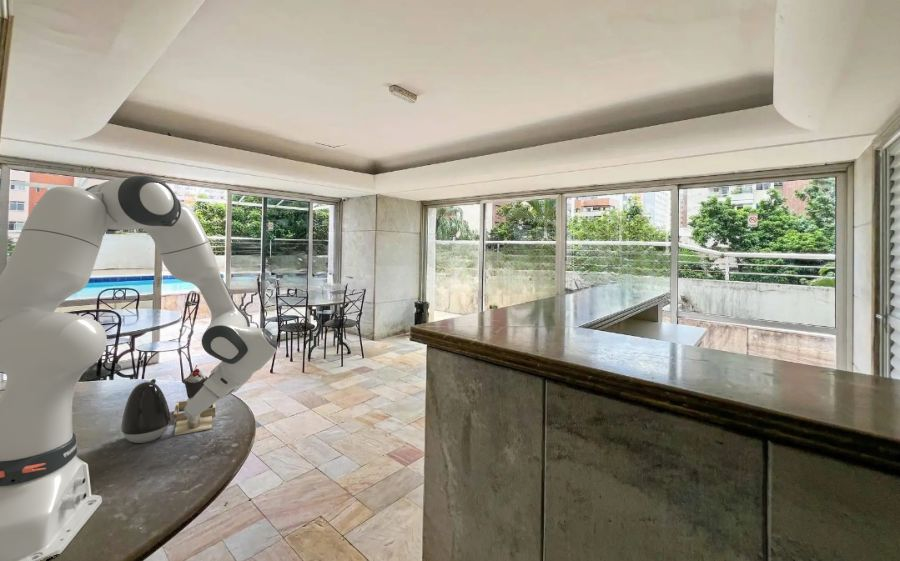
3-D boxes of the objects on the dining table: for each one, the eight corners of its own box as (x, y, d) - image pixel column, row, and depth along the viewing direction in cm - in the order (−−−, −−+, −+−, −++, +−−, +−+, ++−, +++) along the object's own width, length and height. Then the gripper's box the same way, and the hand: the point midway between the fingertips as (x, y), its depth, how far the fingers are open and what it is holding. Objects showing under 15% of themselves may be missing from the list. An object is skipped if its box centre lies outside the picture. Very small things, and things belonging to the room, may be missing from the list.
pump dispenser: (177, 427, 109) (175, 374, 107) (162, 445, 99) (160, 387, 97) (133, 431, 105) (131, 377, 104) (113, 450, 96) (111, 390, 94)
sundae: (196, 417, 115) (195, 368, 114) (177, 414, 116) (176, 365, 115) (213, 408, 122) (213, 361, 120) (195, 405, 123) (194, 359, 122)
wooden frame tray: (215, 428, 109) (214, 399, 108) (170, 436, 103) (169, 405, 103) (215, 403, 125) (214, 378, 124) (176, 409, 119) (176, 383, 119)
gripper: (233, 358, 118) (198, 390, 117) (204, 381, 98) (162, 420, 97) (249, 372, 119) (214, 404, 118) (223, 397, 99) (182, 436, 98)
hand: (190, 411), depth 107 cm, fingers closed on wooden frame tray, 3 cm apart
